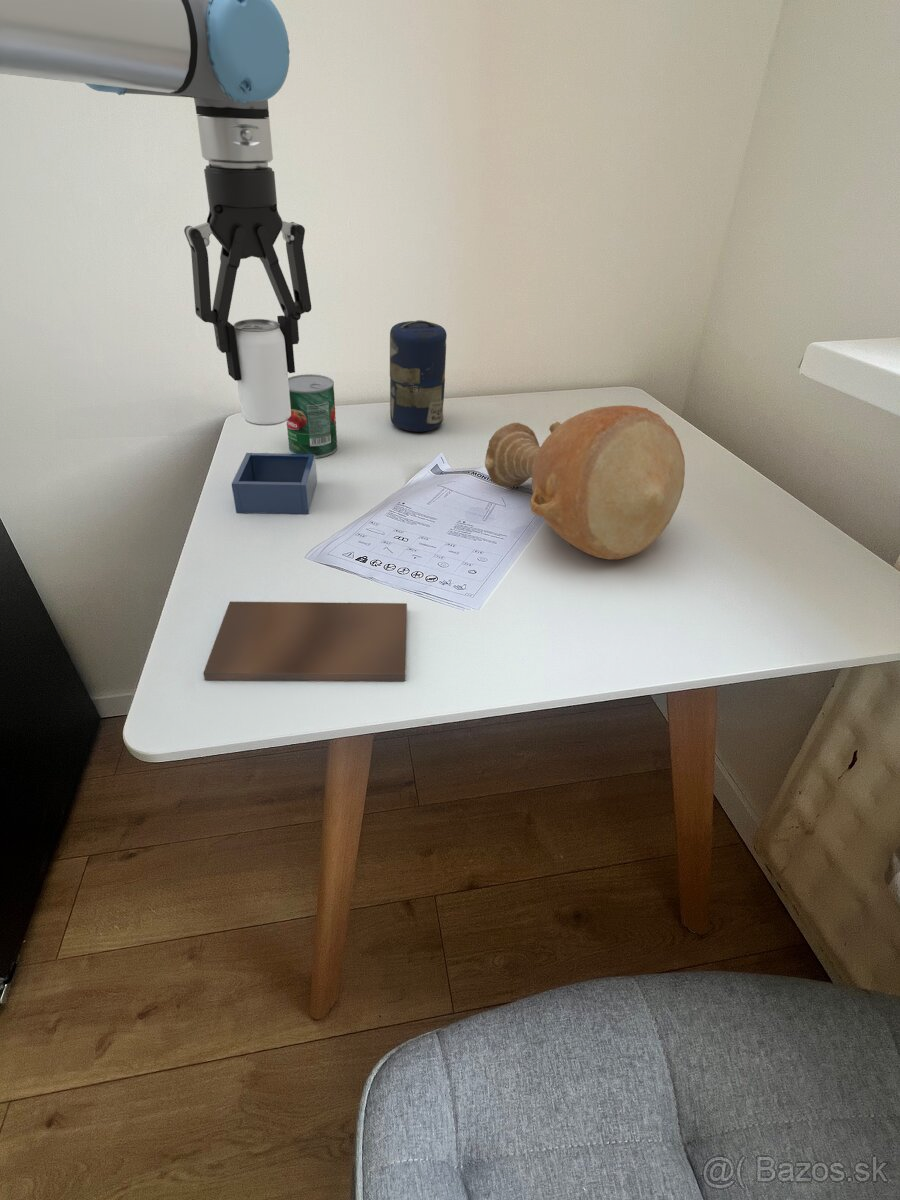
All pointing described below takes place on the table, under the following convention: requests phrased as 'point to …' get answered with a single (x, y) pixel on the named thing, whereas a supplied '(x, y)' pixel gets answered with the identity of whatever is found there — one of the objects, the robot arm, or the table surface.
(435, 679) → the table surface
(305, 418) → the canned tomato
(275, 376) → the can
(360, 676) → the board
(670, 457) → the jug
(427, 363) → the canister
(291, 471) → the holder
